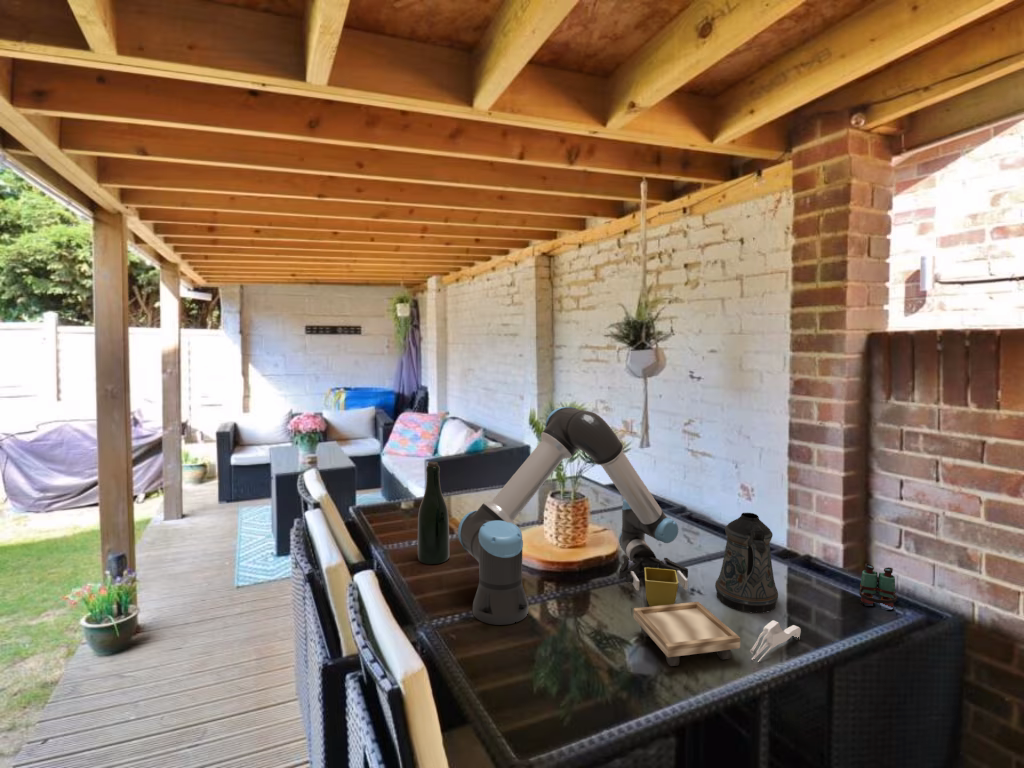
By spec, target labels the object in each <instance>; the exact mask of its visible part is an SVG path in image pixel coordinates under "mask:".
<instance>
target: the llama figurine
mask: <svg viewBox="0 0 1024 768" xmlns="http://www.w3.org/2000/svg"><path fill="white" fill-rule="evenodd" d="M762 630H763V631H762V632H761V633H760V634H759V635H758V638H757V640H756V641H755V643H754V645H753V646H752V648H750V650H749V652H750V653H751V655H753V654H754V655H753V657H751V660H752V661H754V660H753V659H756V658H757V657H758V656H759V655H760V654H761V653H762V652H763V651H764V650H765V649H766V648H767V647H768V649H767V650H766V651H765V652H764V653H763V655H762V656H760V658H759V659H758V661H757V662H759V661H760V662H761V660H762V659H763V658H764V657H765V656H766V655H767V654H768V652H769V651H770V650H772V649H774V648H775V647H776V646H778V645H780V644H782V643H785V642H787V641H788V640H789V639H791V638H792V636H794V637H797V638H798V637H799V638H800V636H801V633H802V631H801V630H802V629H801V627H799V626H797V625H795V624H792V625H790V626H789V627H787V628H785V629H784V630H783V628H781V625H780V623H779V622H778V621H776V620H774V619H773V620H771V621H770V622H768V623H767V624H766V625H765V626H763V629H762ZM761 637H762V640H761ZM760 640H761V644H760V646H759V647H758V649H757V650H756V651H755V649H756V647H757V646H758V644H759V641H760ZM765 640H766V641H765ZM754 651H755V653H754Z"/></svg>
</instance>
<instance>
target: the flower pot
mask: <svg viewBox="0 0 1024 768" xmlns="http://www.w3.org/2000/svg"><path fill="white" fill-rule="evenodd" d="M658 568H659V567H658ZM658 568H644V572H643V573H644V584H645V597H646V601H647V604H648V607H652V606H662V605H671V604H676V601H677V595H678V589H679V582H678V579H677V573H676V570H670V569H658Z"/></svg>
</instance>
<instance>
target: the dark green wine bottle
mask: <svg viewBox="0 0 1024 768" xmlns="http://www.w3.org/2000/svg"><path fill="white" fill-rule="evenodd" d="M425 470H426V483H425V490H424V493H423V497H422V500H421V503H420V504H419V505H420V506H419V509H418V516H417V559H418V561H419V562H421V563H423V564H426V565H439V564H442V563H445V562H446V561H448V559H449V558H450V524H449V523H450V522H449V521H450V520H449V511H448V510H449V509H448V507H447V504H446V503H447V502H446V501H445V498H444V496H443V493H442V489H441V482H440V470H441V468H440V465H439V462H438V461H429V462H428V463H427V466H426V469H425Z"/></svg>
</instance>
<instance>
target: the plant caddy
mask: <svg viewBox="0 0 1024 768" xmlns="http://www.w3.org/2000/svg"><path fill="white" fill-rule="evenodd" d="M633 619H634V620H635V622H636V623H637V624H638V625H639V626H640V629H641V634H642V635H643V636H644V637H649V638H650V639H651V640H652V641H653V642H654V643H655V644H656V646H657V647H658V648H659V649H660V650H661V651H662V652H663V654H664V655H665V659H666V660H665V661H666V662H667V665H668V666H669V667H675V666H679V665H680V657H681V656H690V655H697V654H699V655H700V654H708V653H713V652H716V654H717V656H718V658H719V659H720V660H729V659H731V658H732V650H736V649H740V648H741V637H740V636H739V635H738V634H737V633H736V632H734V630H732V629H731V628H730V627H728V625H727V624H725V623H723V621H721V620H720V618H718V617H717V616H716V615H714V614H713V613H712V612H711V611H710V610H708V608H706V607H705V606H704V605H703V604H702V603H700V601H694V602H693V601H691V602H683V603H682V602H681V603H674V604H671V605H662V606H652V607H650V606H644V607H634V608H633Z"/></svg>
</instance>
